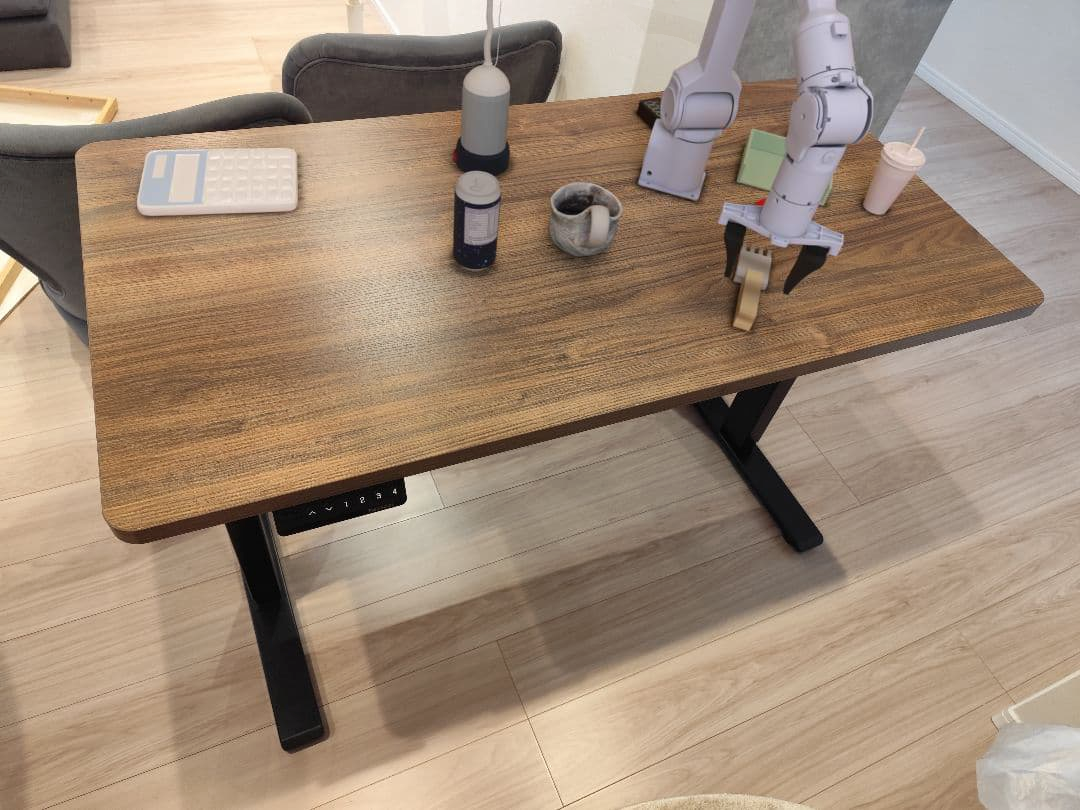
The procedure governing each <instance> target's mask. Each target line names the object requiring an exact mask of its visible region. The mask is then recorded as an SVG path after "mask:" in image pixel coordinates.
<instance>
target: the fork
mask: <svg viewBox="0 0 1080 810" xmlns="http://www.w3.org/2000/svg"><path fill="white" fill-rule="evenodd" d="M747 248H748V243H747V242H743V245H742V247H741V249H740V251H739V253H738V256H737V262H736V267H735V272H734V276H733V282H734V283H738V284H740V288H739V293H738V297H737V302H736V306H735V313H734V317H733V321H732V327H734V328H736V329H741V330H743V331H746V332H750V330H751V328H752V326H753V324H754V322H755V320H756V318H757V315H758V308H759V303H760V296H761V290H762V291H765V290H766V289H767V286H768V285H769V284H768V283H769V279H770V272H771V267H772V260H773V257H772V253H773V250H772V249H767V251H766V253H765V255H764V251H765V250H764V249H765V248H764V247H761V246H760V247H758V250H757V253H756V245H754V244H751V245H750V247H749V250H747Z"/></svg>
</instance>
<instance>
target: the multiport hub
mask: <svg viewBox="0 0 1080 810" xmlns="http://www.w3.org/2000/svg"><path fill="white" fill-rule="evenodd" d="M661 98H662V97H660V96H656V97H650V98H644V99H640V100H639V101H638V106H637V109H636V114H637V116H638V117H639V118H640V119H641V120H643V121H644V122H645V123H646V124H647V125H648V126H649V127H650V128H651V130H653V127H654V124H655V121H656V119H661V114H660V105H661Z"/></svg>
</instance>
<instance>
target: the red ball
mask: <svg viewBox="0 0 1080 810" xmlns="http://www.w3.org/2000/svg"><path fill="white" fill-rule="evenodd" d="M766 199H767V197H764V198H761V199H759V200H758V201H757V202H756V203H754V206H764V204H765V201H766Z"/></svg>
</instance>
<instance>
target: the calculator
mask: <svg viewBox="0 0 1080 810" xmlns="http://www.w3.org/2000/svg"><path fill="white" fill-rule="evenodd" d="M143 163H144V164H143V169H142V175H141V178H140V183H139V188H138V193H137V198H136V207H137V210H138V212H139V213H140V214H141V215H143V216H147V217H163V216H165V217H166V216H168V217H169V216H193V215H196V216H197V215H223V214H247V213H248V214H251V213H278V212H279V213H281V212H282V213H283V212H284V213H285V212H292V211H294V210H296V209H297V207H298V203H299V188H298V187H299V185H298V183H299V182H298V181H299V179H298V178H299V177H298V175H299V174H298V154H297V152H296V150H295V149H294V148H291V147H255V148H254V147H252V148H251V147H249V148H246V147H245V148H199V149H197V148H194V149H193V148H192V149H191V148H190V149H189V148H188V149H183V148H181V149H154V150H150V151H148V152H147V154H146V155H145V158H144V162H143Z"/></svg>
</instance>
